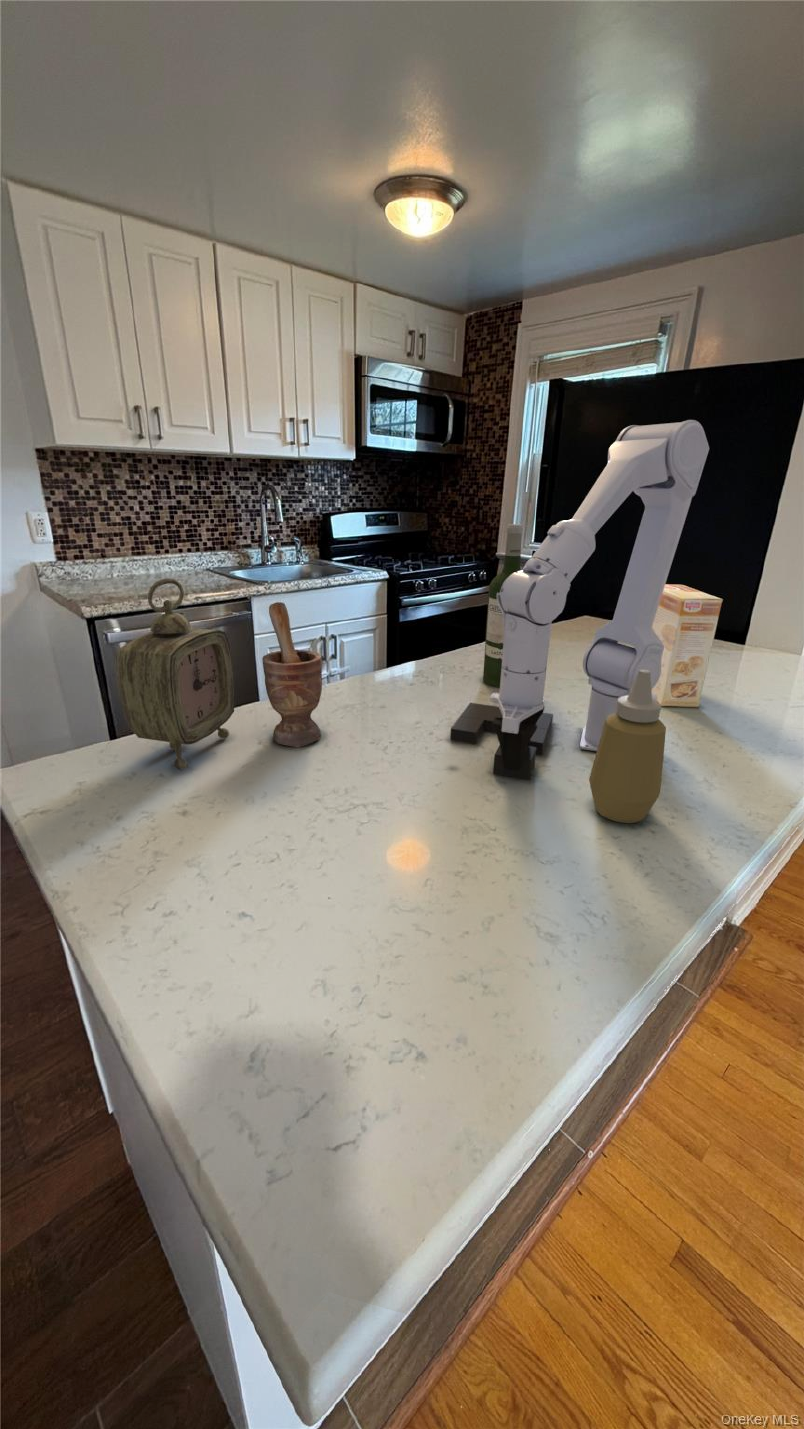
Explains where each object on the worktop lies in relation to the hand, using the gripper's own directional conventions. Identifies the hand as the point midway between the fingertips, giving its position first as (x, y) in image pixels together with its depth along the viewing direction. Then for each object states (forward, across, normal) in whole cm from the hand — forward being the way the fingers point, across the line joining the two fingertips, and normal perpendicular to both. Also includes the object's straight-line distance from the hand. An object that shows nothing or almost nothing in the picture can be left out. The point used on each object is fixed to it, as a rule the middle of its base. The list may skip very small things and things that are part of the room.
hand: (514, 760), depth 78 cm
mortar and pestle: (+2, +1, -35) cm, 35 cm away
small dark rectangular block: (+1, 0, 0) cm, 1 cm away
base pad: (+1, -12, -4) cm, 13 cm away
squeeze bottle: (+2, +6, +14) cm, 15 cm away
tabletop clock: (+2, +12, -46) cm, 48 cm away
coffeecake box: (+2, -42, +21) cm, 47 cm away
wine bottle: (+2, -37, -9) cm, 38 cm away
